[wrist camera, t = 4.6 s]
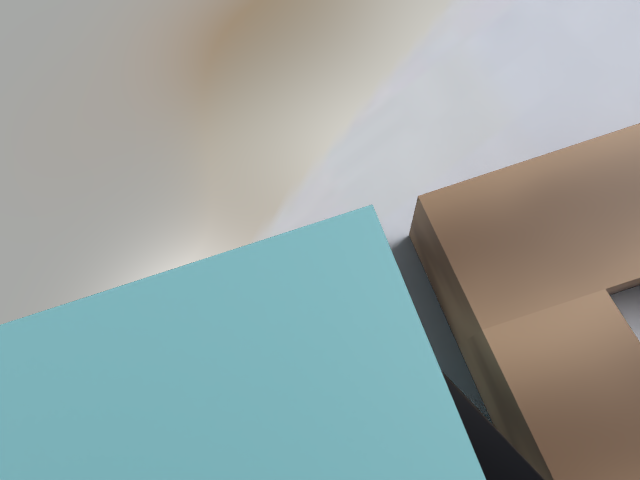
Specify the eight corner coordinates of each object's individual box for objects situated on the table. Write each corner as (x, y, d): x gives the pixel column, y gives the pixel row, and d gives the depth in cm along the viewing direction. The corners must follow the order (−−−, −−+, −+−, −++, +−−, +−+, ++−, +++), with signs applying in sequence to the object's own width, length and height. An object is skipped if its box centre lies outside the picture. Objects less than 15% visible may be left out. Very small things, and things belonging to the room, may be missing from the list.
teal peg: (406, 473, 13) (718, 1047, 1) (298, 509, 13) (-266, 1398, 1) (368, 360, 15) (372, 203, 3) (272, 392, 15) (-96, 355, 3)
